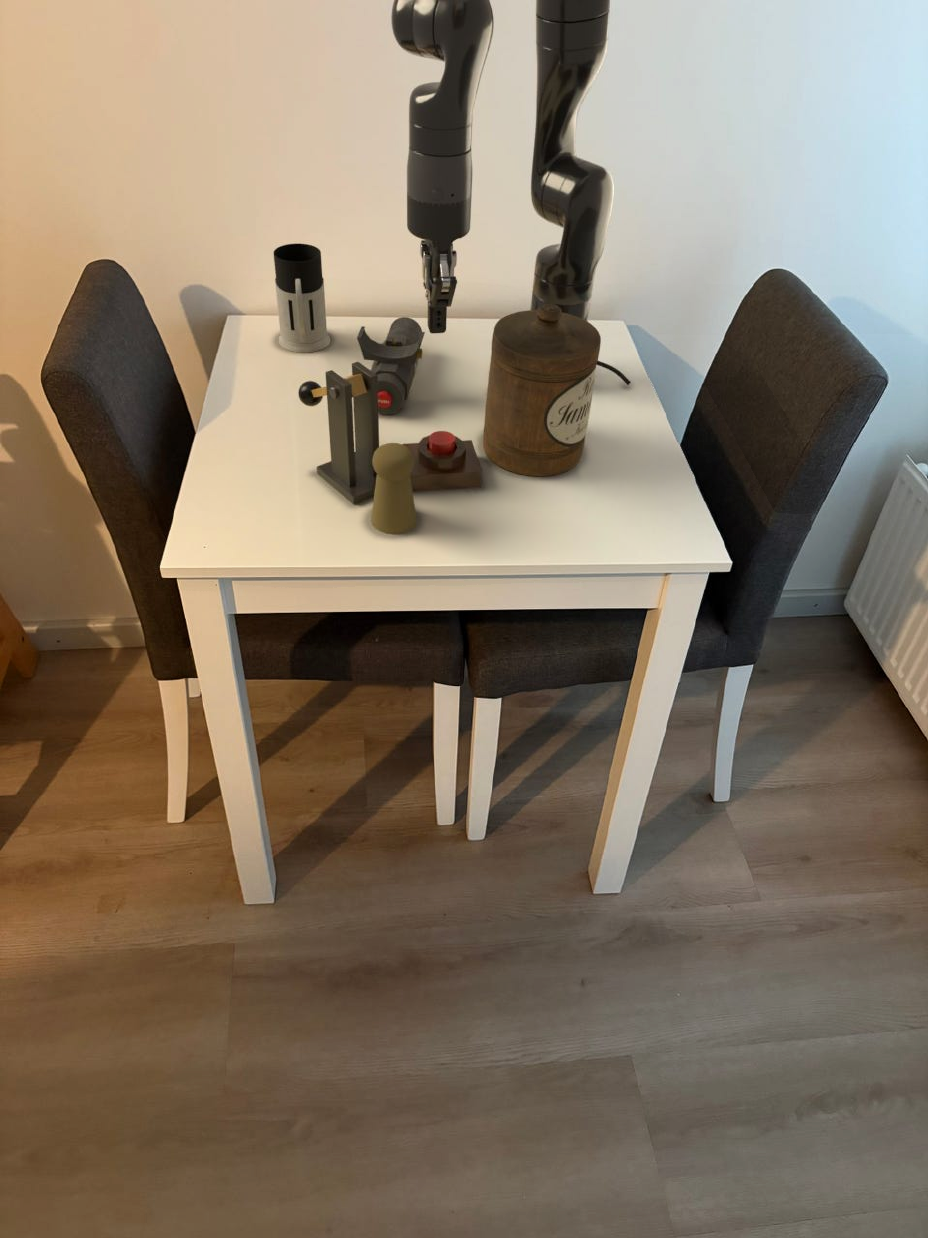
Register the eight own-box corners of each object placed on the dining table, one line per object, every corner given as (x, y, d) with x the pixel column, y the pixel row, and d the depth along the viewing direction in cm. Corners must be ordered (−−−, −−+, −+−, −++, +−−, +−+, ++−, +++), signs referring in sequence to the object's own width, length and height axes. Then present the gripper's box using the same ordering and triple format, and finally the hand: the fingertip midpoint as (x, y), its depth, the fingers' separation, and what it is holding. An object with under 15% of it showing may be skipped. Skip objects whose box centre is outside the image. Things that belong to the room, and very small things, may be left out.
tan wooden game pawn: (370, 506, 119) (368, 436, 112) (415, 506, 120) (416, 435, 112) (371, 534, 115) (368, 463, 107) (417, 534, 115) (418, 462, 108)
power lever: (299, 410, 124) (290, 386, 123) (319, 402, 126) (311, 379, 125) (350, 402, 112) (341, 375, 111) (372, 394, 114) (364, 368, 113)
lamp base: (470, 455, 129) (472, 428, 126) (480, 487, 124) (482, 460, 121) (402, 459, 128) (402, 432, 125) (409, 492, 122) (409, 464, 119)
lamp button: (452, 440, 124) (453, 430, 123) (456, 455, 122) (457, 444, 121) (427, 442, 124) (427, 431, 123) (430, 456, 121) (431, 445, 120)
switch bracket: (317, 473, 124) (308, 366, 113) (358, 457, 128) (354, 351, 116) (353, 505, 119) (348, 396, 108) (395, 487, 123) (395, 380, 112)
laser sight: (434, 352, 151) (435, 295, 144) (415, 422, 135) (416, 361, 128) (377, 347, 152) (376, 290, 145) (352, 415, 136) (349, 355, 129)
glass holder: (329, 328, 156) (324, 241, 146) (331, 367, 146) (326, 277, 136) (278, 328, 155) (269, 241, 145) (277, 368, 145) (267, 278, 135)
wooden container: (571, 486, 125) (594, 339, 110) (470, 464, 128) (479, 318, 112) (591, 433, 135) (615, 292, 120) (497, 414, 138) (509, 273, 123)
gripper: (482, 209, 99) (474, 353, 111) (461, 169, 108) (456, 306, 120) (415, 211, 97) (415, 356, 110) (399, 170, 107) (401, 308, 119)
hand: (436, 330), depth 115 cm, fingers closed
